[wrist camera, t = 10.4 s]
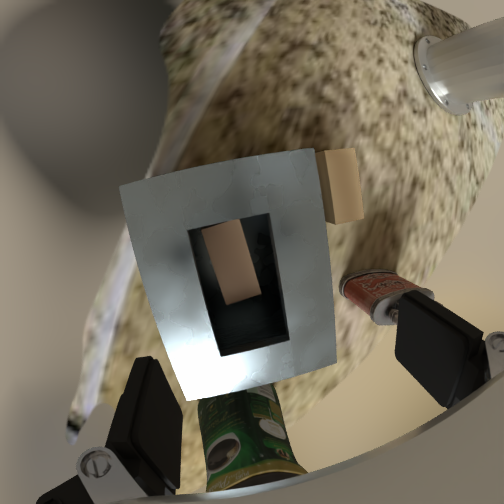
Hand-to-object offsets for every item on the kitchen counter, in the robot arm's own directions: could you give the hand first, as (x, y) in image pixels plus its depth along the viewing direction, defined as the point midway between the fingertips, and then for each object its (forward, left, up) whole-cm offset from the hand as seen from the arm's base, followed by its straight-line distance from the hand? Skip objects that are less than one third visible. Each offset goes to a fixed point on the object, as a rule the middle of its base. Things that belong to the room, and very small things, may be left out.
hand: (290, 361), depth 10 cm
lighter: (-14, +7, -19) cm, 25 cm away
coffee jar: (+4, +18, -19) cm, 26 cm away
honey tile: (-9, -5, -19) cm, 21 cm away
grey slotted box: (+1, 0, -19) cm, 19 cm away
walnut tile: (+1, -1, -18) cm, 18 cm away
